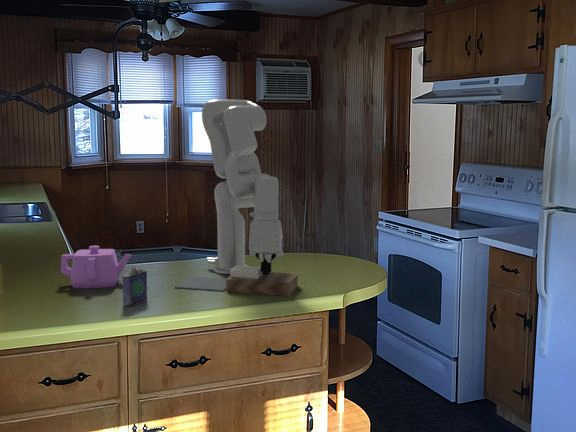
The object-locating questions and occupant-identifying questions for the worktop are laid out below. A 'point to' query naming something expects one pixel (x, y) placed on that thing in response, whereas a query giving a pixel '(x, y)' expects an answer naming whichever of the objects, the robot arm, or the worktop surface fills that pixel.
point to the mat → (203, 284)
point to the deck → (264, 284)
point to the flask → (134, 287)
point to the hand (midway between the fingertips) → (266, 273)
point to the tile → (246, 272)
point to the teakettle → (93, 267)
